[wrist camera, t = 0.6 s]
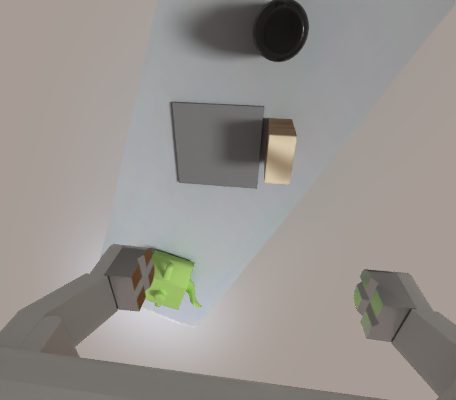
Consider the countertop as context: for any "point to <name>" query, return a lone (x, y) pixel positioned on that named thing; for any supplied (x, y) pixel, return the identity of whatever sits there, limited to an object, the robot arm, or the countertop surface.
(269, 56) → the supplement bottle
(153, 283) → the teapot
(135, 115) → the countertop surface
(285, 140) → the slab
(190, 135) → the mat
